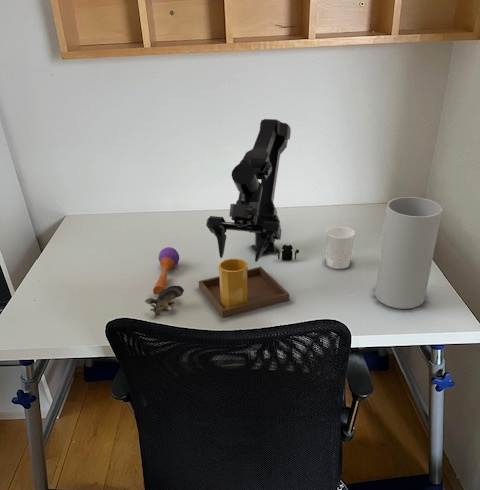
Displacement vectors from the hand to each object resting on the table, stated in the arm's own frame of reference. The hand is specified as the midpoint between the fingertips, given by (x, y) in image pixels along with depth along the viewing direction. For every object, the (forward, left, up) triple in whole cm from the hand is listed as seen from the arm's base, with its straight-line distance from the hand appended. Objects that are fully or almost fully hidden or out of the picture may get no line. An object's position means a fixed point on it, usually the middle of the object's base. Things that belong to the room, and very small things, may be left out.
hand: (238, 259), depth 136 cm
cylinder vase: (+19, +38, -11) cm, 43 cm away
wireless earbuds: (-13, +22, -11) cm, 28 cm away
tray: (0, +1, -11) cm, 11 cm away
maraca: (-18, -14, -11) cm, 26 cm away
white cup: (-4, +34, -11) cm, 36 cm away
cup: (+4, -3, -10) cm, 11 cm away
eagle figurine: (-2, -19, -11) cm, 23 cm away
